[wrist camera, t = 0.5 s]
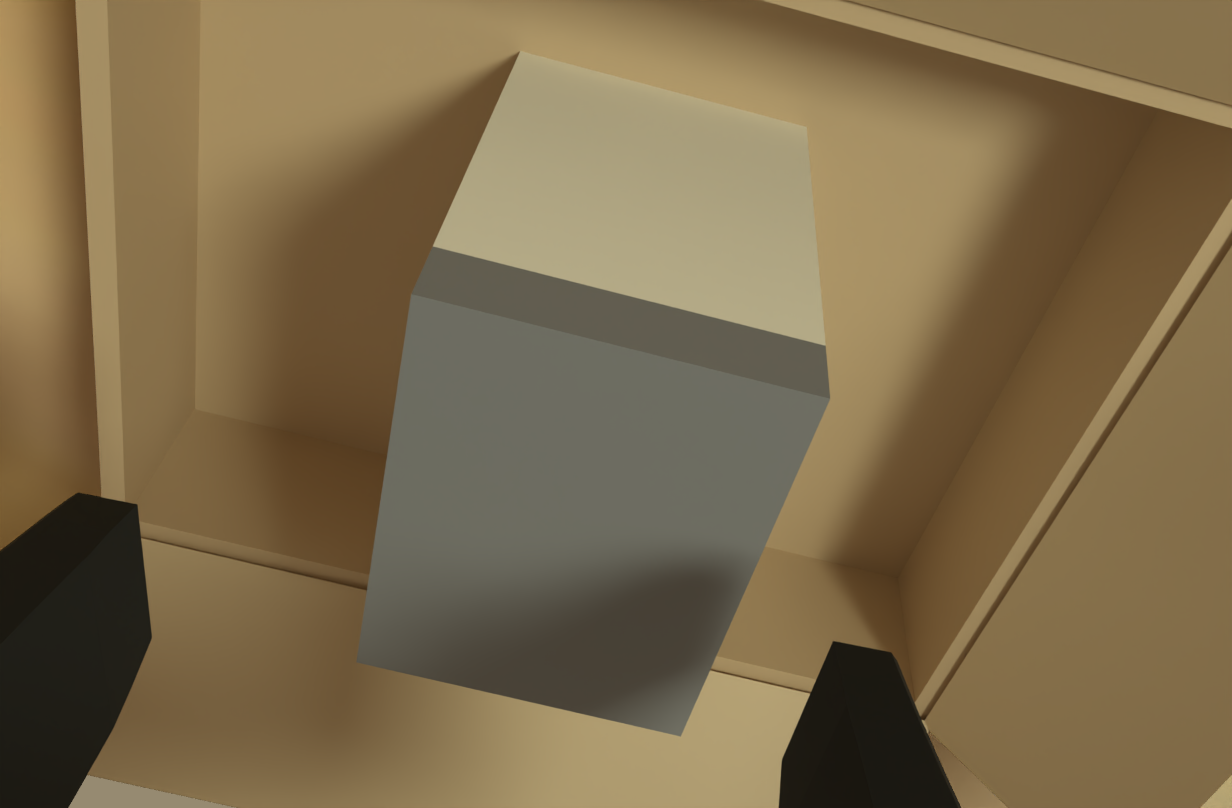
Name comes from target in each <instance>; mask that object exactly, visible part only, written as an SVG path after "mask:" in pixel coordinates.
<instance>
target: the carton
mask: <svg viewBox="0 0 1232 808" xmlns="http://www.w3.org/2000/svg"><path fill="white" fill-rule="evenodd" d="M75 2H76V21H77V40H78V59H79V79H80V98H81V117H82V136H83V155H84V174H85V193H86V212H87V231H88V250H89V269H90V288H91V307H92V326H93V345H94V364H95V383H96V402H97V421H98V440H99V459H100V478H101V497H103V498H108V499H113V500H118V501H123V502H128V503H133V504H137V505H138V514H139V523H140V532H141V541H142V550H143V559H144V568H145V577H146V586H147V595H148V605H149V614H150V623H151V632H152V639H151V642H150V644H149V647H148V649H147V652H146V654H145V656H144V659H143V661H142V664H141V666H140V668H139V671H138V673H137V676H136V678H135V681H134V683H133V685H132V688H131V690H130V692H129V695H128V697H127V699H126V701H125V704H124V706H123V708H122V710H121V713H120V715H119V717H118V719H117V722H116V724H115V726H114V728H113V730H112V732H111V734H110V736H109V737H108V739H107V741H106V743H105V744H104V746H103V748H102V750H101V752H100V753H99V755H98V757H97V759H96V760H95V762H94V764H93V766H92V767H91V769H90V771H89V772H88V774H87V775H90V776H94V777H99V778H104V779H108V780H113V781H117V782H122V783H126V784H131V785H135V786H140V787H144V788H149V789H154V790H158V791H163V792H168V793H172V794H177V795H181V796H186V797H190V798H195V799H199V800H204V801H209V802H213V803H218V804H222V805H227V806H231V807H236V808H779V794H780V779H781V763H782V758H783V756H784V753H785V751H786V749H787V746H788V744H789V742H790V740H791V737H792V735H793V733H794V730H795V728H796V726H797V723H798V721H799V719H800V716H801V714H802V712H803V709H804V707H805V705H806V702H807V700H808V698H809V695H810V693H811V691H812V689H813V686H814V684H815V682H816V679H817V677H818V675H819V672H820V670H821V668H822V665H823V663H824V661H825V658H826V656H827V654H828V651H829V649H830V647H831V645H832V642H833V641H836V642H842V643H847V644H852V645H857V646H862V647H867V648H872V649H877V650H882V651H887V652H891V653H892V654H893V656H894V657H895V658H896V660H897V661H898V664H899V666H900V669H901V671H902V674H903V676H904V678H905V681H906V683H907V686H908V688H909V691H910V693H911V696H912V698H913V700H914V703H915V705H916V708H917V710H918V712H919V715H920V717H921V720H922V722H923V724H924V726H925V729H926V731H927V733H929V731H930V732H931V733H932V734H933V735H934V736H935V737H936V738H937V739H938V740H939V741H940V742H941V743H942V744H943V745H944V746H945V747H946V748H947V749H948V750H949V751H950V752H951V753H953V754H954V755H955V756H956V757H957V758H958V759H959V760H960V761H961V762H962V763H963V764H964V765H965V766H966V767H967V768H968V769H969V770H970V771H971V772H972V773H973V774H974V775H975V776H976V777H977V778H978V779H979V780H980V781H981V782H982V783H983V784H984V785H985V786H986V787H987V788H988V789H989V790H991V791H992V792H993V793H994V794H995V795H996V796H997V797H998V798H999V799H1000V800H1001V801H1002V802H1003V803H1004V804H1005V805H1006V806H1007V807H1008V808H1200V807H1201V806H1202V805H1203V804H1204V803H1205V802H1206V801H1207V800H1208V799H1209V798H1210V797H1211V796H1212V795H1213V794H1214V793H1215V792H1216V791H1217V790H1218V788H1219V787H1220V786H1221V785H1222V784H1223V783H1224V782H1225V781H1226V780H1227V779H1228V778H1229V777H1230V776H1231V775H1232V0H75ZM520 51H522V52H526V53H530V54H533V55H537V56H541V57H545V58H548V59H552V60H556V61H560V62H564V63H567V64H571V65H575V66H579V67H582V68H586V69H590V70H594V71H597V72H601V73H605V74H609V75H613V76H616V77H620V78H624V79H628V80H631V81H635V82H639V83H643V84H646V85H650V86H654V87H658V88H661V89H665V90H669V91H673V92H677V93H680V94H684V95H688V96H692V97H695V98H699V99H703V100H707V101H710V102H714V103H718V104H722V105H725V106H729V107H733V108H737V109H741V110H744V111H748V112H752V113H756V114H759V115H763V116H767V117H771V118H774V119H778V120H782V121H786V122H790V123H793V124H797V125H801V126H805V127H807V137H808V149H809V160H810V172H811V183H812V195H813V206H814V218H815V229H816V241H817V252H818V263H819V275H820V286H821V298H822V309H823V321H824V332H825V344H826V355H827V367H828V378H829V389H830V401H829V403H828V405H827V407H826V410H825V412H824V414H823V417H822V419H821V421H820V423H819V426H818V428H817V430H816V432H815V435H814V437H813V439H812V441H811V444H810V446H809V448H808V450H807V453H806V455H805V457H804V459H803V462H802V464H801V466H800V468H799V471H798V473H797V475H796V477H795V480H794V482H793V484H792V487H791V489H790V491H789V493H788V496H787V498H786V500H785V502H784V505H783V507H782V509H781V511H780V514H779V516H778V518H777V520H776V523H775V525H774V527H773V529H772V532H771V534H770V536H769V538H768V541H767V543H766V545H765V548H764V550H763V552H762V554H761V557H760V559H759V561H758V563H757V566H756V568H755V570H754V572H753V575H752V577H751V579H750V581H749V584H748V586H747V588H746V590H745V593H744V595H743V597H742V599H741V602H740V604H739V606H738V608H737V611H736V613H735V615H734V618H733V620H732V622H731V624H730V627H729V629H728V631H727V633H726V636H725V638H724V640H723V642H722V645H721V647H720V649H719V651H718V654H717V656H716V658H715V660H714V663H713V665H712V667H711V669H710V672H709V674H708V676H707V679H706V681H705V683H704V685H703V688H702V690H701V692H700V694H699V697H698V699H697V701H696V703H695V706H694V708H693V710H692V712H691V715H690V717H689V719H688V721H687V724H686V726H685V728H684V730H683V733H682V735H681V737H680V736H676V735H672V734H667V733H663V732H659V731H654V730H650V729H645V728H641V727H637V726H632V725H628V724H624V723H619V722H615V721H610V720H606V719H602V718H597V717H593V716H589V715H584V714H580V713H575V712H571V711H567V710H562V709H558V708H554V707H549V706H545V705H540V704H536V703H532V702H527V701H523V700H519V699H514V698H510V697H505V696H501V695H497V694H492V693H488V692H484V691H479V690H475V689H470V688H466V687H462V686H457V685H453V684H449V683H444V682H440V681H435V680H431V679H427V678H422V677H418V676H414V675H409V674H405V673H400V672H396V671H392V670H387V669H383V668H379V667H374V666H370V665H365V664H361V663H357V662H356V661H357V654H358V647H359V641H360V634H361V627H362V621H363V614H364V607H365V601H366V594H367V587H368V581H369V574H370V567H371V560H372V554H373V547H374V540H375V534H376V527H377V520H378V514H379V507H380V500H381V494H382V487H383V480H384V473H385V467H386V460H387V453H388V447H389V440H390V433H391V427H392V420H393V413H394V406H395V400H396V393H397V386H398V380H399V373H400V366H401V360H402V353H403V346H404V340H405V333H406V326H407V319H408V313H409V306H410V299H411V294H412V291H413V289H414V287H415V285H416V282H417V280H418V278H419V276H420V274H421V271H422V269H423V267H424V265H425V262H426V260H427V258H428V256H429V253H430V251H431V249H432V247H433V245H434V242H435V240H436V238H437V236H438V233H439V231H440V229H441V227H442V225H443V222H444V220H445V218H446V216H447V213H448V211H449V209H450V207H451V204H452V202H453V200H454V198H455V196H456V193H457V191H458V189H459V187H460V184H461V182H462V180H463V178H464V176H465V173H466V171H467V169H468V167H469V164H470V162H471V160H472V158H473V155H474V153H475V151H476V149H477V147H478V144H479V142H480V140H481V138H482V135H483V133H484V131H485V129H486V127H487V124H488V122H489V120H490V118H491V115H492V113H493V111H494V109H495V106H496V104H497V102H498V100H499V98H500V95H501V93H502V91H503V89H504V86H505V84H506V82H507V80H508V78H509V75H510V73H511V71H512V69H513V66H514V64H515V62H516V60H517V57H518V55H519V53H520Z"/></svg>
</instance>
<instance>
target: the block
mask: <svg viewBox="0 0 1232 808" xmlns="http://www.w3.org/2000/svg"><path fill="white" fill-rule="evenodd" d="M829 401H830V389H829V378H828V367H827V355H826V344H825V332H824V321H823V309H822V298H821V286H820V275H819V263H818V252H817V241H816V229H815V218H814V206H813V195H812V183H811V172H810V160H809V149H808V137H807V127H805V126H801V125H797V124H793V123H790V122H786V121H782V120H778V119H774V118H771V117H767V116H763V115H759V114H756V113H752V112H748V111H744V110H741V109H737V108H733V107H729V106H725V105H722V104H718V103H714V102H710V101H707V100H703V99H699V98H695V97H692V96H688V95H684V94H680V93H677V92H673V91H669V90H665V89H661V88H658V87H654V86H650V85H646V84H643V83H639V82H635V81H631V80H628V79H624V78H620V77H616V76H613V75H609V74H605V73H601V72H597V71H594V70H590V69H586V68H582V67H579V66H575V65H571V64H567V63H564V62H560V61H556V60H552V59H548V58H545V57H541V56H537V55H533V54H530V53H526V52H522V51H520V53H519V55H518V57H517V60H516V62H515V64H514V66H513V69H512V71H511V73H510V75H509V78H508V80H507V82H506V84H505V86H504V89H503V91H502V93H501V95H500V98H499V100H498V102H497V104H496V106H495V109H494V111H493V113H492V115H491V118H490V120H489V122H488V124H487V127H486V129H485V131H484V133H483V135H482V138H481V140H480V142H479V144H478V147H477V149H476V151H475V153H474V155H473V158H472V160H471V162H470V164H469V167H468V169H467V171H466V173H465V176H464V178H463V180H462V182H461V184H460V187H459V189H458V191H457V193H456V196H455V198H454V200H453V202H452V204H451V207H450V209H449V211H448V213H447V216H446V218H445V220H444V222H443V225H442V227H441V229H440V231H439V233H438V236H437V238H436V240H435V242H434V245H433V247H432V249H431V251H430V253H429V256H428V258H427V260H426V262H425V265H424V267H423V269H422V271H421V274H420V276H419V278H418V280H417V282H416V285H415V287H414V289H413V291H412V294H411V299H410V306H409V313H408V319H407V326H406V333H405V340H404V346H403V353H402V360H401V366H400V373H399V380H398V386H397V393H396V400H395V406H394V413H393V420H392V427H391V433H390V440H389V447H388V453H387V460H386V467H385V473H384V480H383V487H382V494H381V500H380V507H379V514H378V520H377V527H376V534H375V540H374V547H373V554H372V560H371V567H370V574H369V581H368V587H367V594H366V601H365V607H364V614H363V621H362V627H361V634H360V641H359V647H358V654H357V661H356V662H357V663H361V664H365V665H370V666H374V667H379V668H383V669H387V670H392V671H396V672H400V673H405V674H409V675H414V676H418V677H422V678H427V679H431V680H435V681H440V682H444V683H449V684H453V685H457V686H462V687H466V688H470V689H475V690H479V691H484V692H488V693H492V694H497V695H501V696H505V697H510V698H514V699H519V700H523V701H527V702H532V703H536V704H540V705H545V706H549V707H554V708H558V709H562V710H567V711H571V712H575V713H580V714H584V715H589V716H593V717H597V718H602V719H606V720H610V721H615V722H619V723H624V724H628V725H632V726H637V727H641V728H645V729H650V730H654V731H659V732H663V733H667V734H672V735H676V736H680V737H681V735H682V733H683V730H684V728H685V726H686V724H687V721H688V719H689V717H690V715H691V712H692V710H693V708H694V706H695V703H696V701H697V699H698V697H699V694H700V692H701V690H702V688H703V685H704V683H705V681H706V679H707V676H708V674H709V672H710V669H711V667H712V665H713V663H714V660H715V658H716V656H717V654H718V651H719V649H720V647H721V645H722V642H723V640H724V638H725V636H726V633H727V631H728V629H729V627H730V624H731V622H732V620H733V618H734V615H735V613H736V611H737V608H738V606H739V604H740V602H741V599H742V597H743V595H744V593H745V590H746V588H747V586H748V584H749V581H750V579H751V577H752V575H753V572H754V570H755V568H756V566H757V563H758V561H759V559H760V557H761V554H762V552H763V550H764V548H765V545H766V543H767V541H768V538H769V536H770V534H771V532H772V529H773V527H774V525H775V523H776V520H777V518H778V516H779V514H780V511H781V509H782V507H783V505H784V502H785V500H786V498H787V496H788V493H789V491H790V489H791V487H792V484H793V482H794V480H795V477H796V475H797V473H798V471H799V468H800V466H801V464H802V462H803V459H804V457H805V455H806V453H807V450H808V448H809V446H810V444H811V441H812V439H813V437H814V435H815V432H816V430H817V428H818V426H819V423H820V421H821V419H822V417H823V414H824V412H825V410H826V407H827V405H828V403H829Z"/></svg>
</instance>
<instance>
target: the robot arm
mask: <svg viewBox="0 0 1232 808" xmlns="http://www.w3.org/2000/svg"><path fill="white" fill-rule="evenodd" d="M151 639H152V632H151V623H150V614H149V605H148V595H147V586H146V577H145V568H144V559H143V550H142V541H141V532H140V523H139V514H138V505H137V504H133V503H128V502H123V501H118V500H113V499H108V498H103V497H98V496H93V495H88V494H82V493H77V494H75V495H74V496H72V497H70V498H69V499H67V500H66V501H65V502H63V503H62V504H61V505H59V506H58V507H57V508H55V509H54V510H53V511H51V512H50V513H49V514H47V515H46V516H45V517H44V518H42V519H41V520H40V521H38V522H37V523H36V524H34V525H33V526H32V527H31V528H29V529H28V530H27V531H25V532H24V533H23V534H21V535H20V536H19V537H18V538H16V539H15V540H14V541H12V542H11V543H10V544H9V545H7V546H6V547H5V548H3V549H2V550H1V551H0V808H68V807H69V805H70V804H71V802H72V800H73V799H74V797H75V795H76V793H77V791H78V790H79V788H80V786H81V785H82V783H83V781H84V779H85V778H86V776H87V774H88V772H89V771H90V769H91V767H92V766H93V764H94V762H95V760H96V759H97V757H98V755H99V753H100V752H101V750H102V748H103V746H104V744H105V743H106V741H107V739H108V737H109V736H110V734H111V732H112V730H113V728H114V726H115V724H116V722H117V719H118V717H119V715H120V713H121V710H122V708H123V706H124V704H125V701H126V699H127V697H128V695H129V692H130V690H131V688H132V685H133V683H134V681H135V678H136V676H137V673H138V671H139V668H140V666H141V664H142V661H143V659H144V656H145V654H146V652H147V649H148V647H149V644H150V642H151ZM779 808H961V806H960V804H959V802H958V800H957V798H956V795H955V793H954V791H953V789H952V787H951V785H950V783H949V781H948V778H947V776H946V774H945V772H944V769H943V767H942V765H941V763H940V761H939V758H938V756H937V754H936V752H935V749H934V747H933V745H932V743H931V740H930V738H929V736H928V733H927V731H926V729H925V726H924V724H923V722H922V720H921V717H920V715H919V712H918V710H917V708H916V705H915V703H914V700H913V698H912V696H911V693H910V691H909V688H908V686H907V683H906V681H905V678H904V676H903V674H902V671H901V669H900V666H899V664H898V661H897V660H896V658H895V657H894V656H893V654H892V653H891V652H887V651H882V650H877V649H872V648H867V647H862V646H857V645H852V644H847V643H842V642H836V641H833V642H832V645H831V647H830V649H829V651H828V654H827V656H826V658H825V661H824V663H823V665H822V668H821V670H820V672H819V675H818V677H817V679H816V682H815V684H814V686H813V689H812V691H811V693H810V695H809V698H808V700H807V702H806V705H805V707H804V709H803V712H802V714H801V716H800V719H799V721H798V723H797V726H796V728H795V730H794V733H793V735H792V737H791V740H790V742H789V744H788V746H787V749H786V751H785V753H784V756H783V758H782V763H781V779H780V794H779Z"/></svg>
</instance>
